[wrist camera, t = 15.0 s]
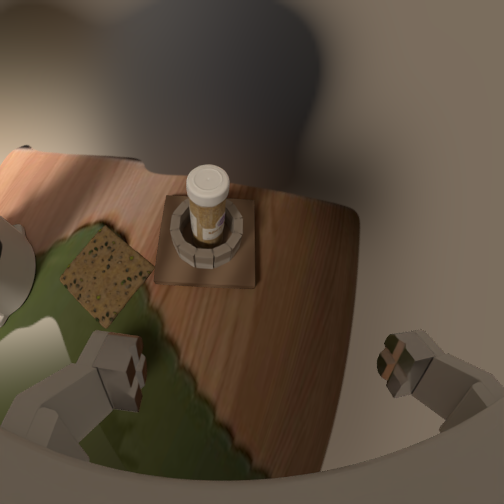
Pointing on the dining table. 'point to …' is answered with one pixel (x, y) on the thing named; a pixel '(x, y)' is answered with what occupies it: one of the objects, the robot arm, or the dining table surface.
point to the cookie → (106, 275)
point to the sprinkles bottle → (207, 204)
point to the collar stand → (206, 260)
